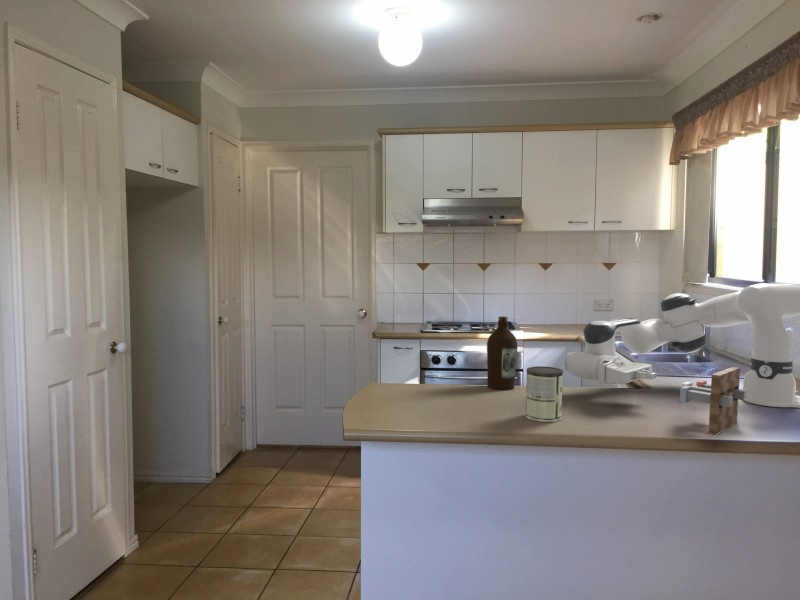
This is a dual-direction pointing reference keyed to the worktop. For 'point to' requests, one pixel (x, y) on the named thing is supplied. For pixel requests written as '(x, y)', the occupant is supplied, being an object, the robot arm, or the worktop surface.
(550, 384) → the coffee can
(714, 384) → the walnut panel
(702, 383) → the brick-red plunger
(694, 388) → the off-white plunger
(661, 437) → the worktop surface
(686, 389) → the blue-capped grey rod
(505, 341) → the olive oil
